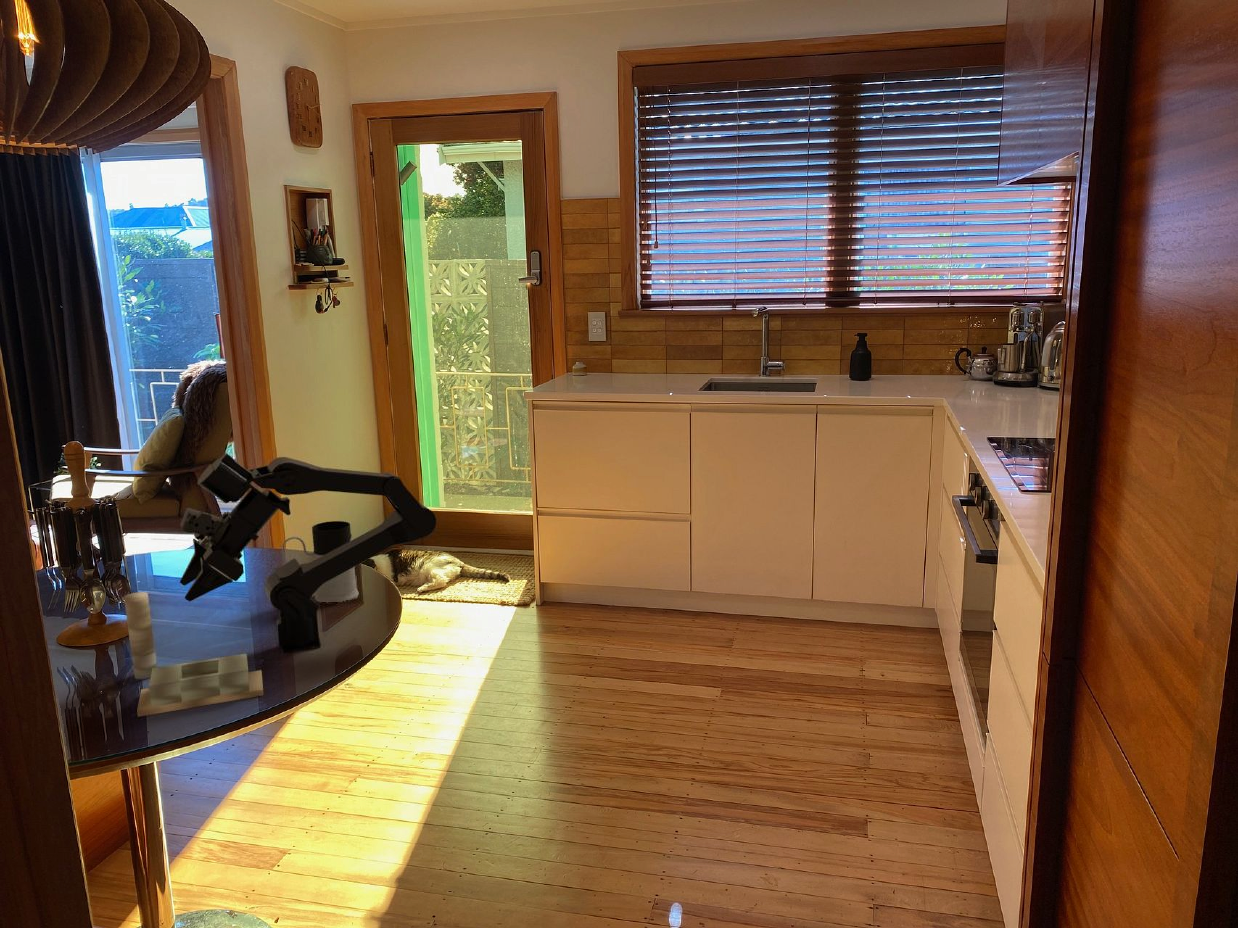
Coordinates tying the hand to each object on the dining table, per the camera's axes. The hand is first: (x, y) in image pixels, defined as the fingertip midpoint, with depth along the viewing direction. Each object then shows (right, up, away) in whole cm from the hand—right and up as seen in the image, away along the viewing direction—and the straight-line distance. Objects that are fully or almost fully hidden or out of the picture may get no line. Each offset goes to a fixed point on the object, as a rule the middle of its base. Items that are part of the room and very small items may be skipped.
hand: (184, 591), depth 159 cm
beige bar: (-6, -14, -1) cm, 15 cm away
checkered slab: (+7, -15, -9) cm, 19 cm away
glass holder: (+12, -6, +35) cm, 38 cm away
